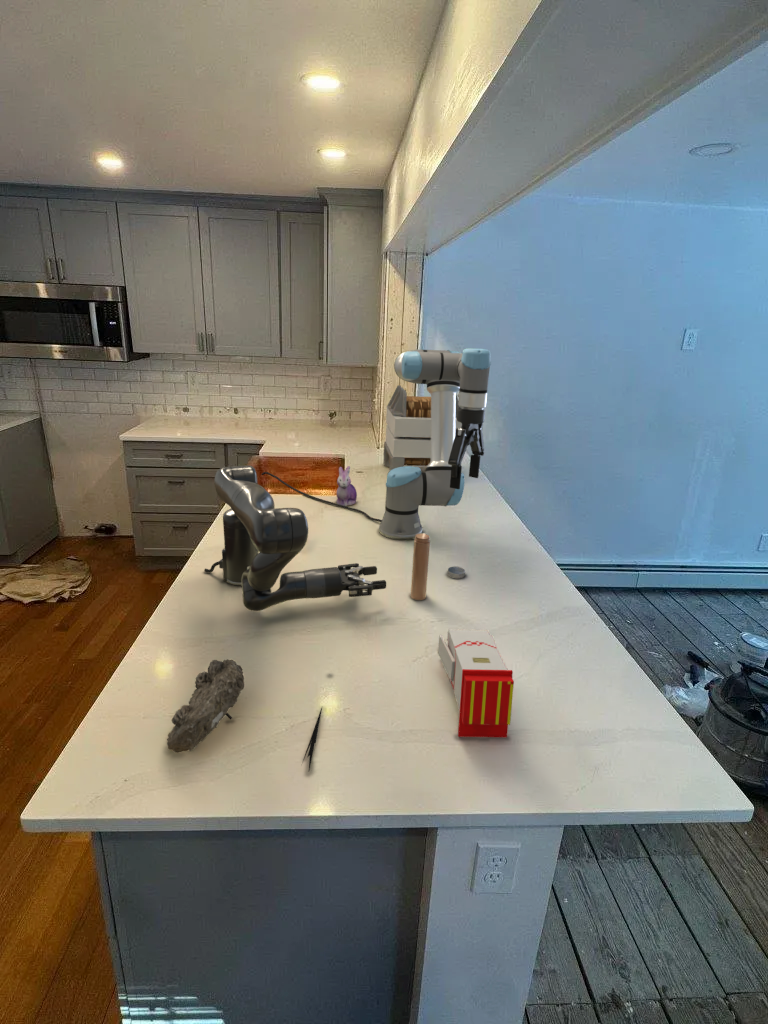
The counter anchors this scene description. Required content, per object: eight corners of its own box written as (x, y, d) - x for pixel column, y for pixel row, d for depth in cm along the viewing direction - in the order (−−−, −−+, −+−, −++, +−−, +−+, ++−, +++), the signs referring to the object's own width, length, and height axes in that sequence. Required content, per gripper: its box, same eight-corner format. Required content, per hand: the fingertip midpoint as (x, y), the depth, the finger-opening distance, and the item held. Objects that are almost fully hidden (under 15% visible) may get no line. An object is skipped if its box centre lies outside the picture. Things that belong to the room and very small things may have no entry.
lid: (460, 570, 174) (461, 565, 173) (467, 578, 169) (468, 573, 169) (444, 571, 172) (445, 567, 172) (451, 579, 168) (451, 574, 167)
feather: (331, 679, 122) (336, 673, 122) (307, 777, 96) (313, 769, 95) (324, 675, 122) (329, 669, 121) (298, 772, 95) (304, 764, 95)
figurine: (340, 508, 222) (341, 471, 217) (330, 500, 231) (330, 464, 226) (362, 505, 226) (363, 469, 221) (351, 497, 235) (352, 462, 230)
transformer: (382, 463, 289) (386, 382, 275) (445, 464, 293) (451, 384, 279) (390, 482, 257) (394, 392, 243) (460, 483, 261) (468, 394, 247)
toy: (488, 613, 130) (523, 677, 101) (484, 667, 133) (517, 744, 104) (435, 612, 130) (455, 676, 101) (432, 666, 133) (451, 743, 103)
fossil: (192, 660, 117) (244, 628, 112) (224, 691, 120) (276, 661, 115) (142, 746, 98) (202, 712, 93) (182, 779, 101) (242, 748, 96)
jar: (424, 592, 159) (429, 532, 153) (427, 600, 155) (431, 539, 149) (409, 592, 159) (413, 532, 153) (411, 600, 155) (415, 539, 149)
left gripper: (327, 582, 139) (390, 576, 144) (316, 558, 152) (374, 553, 157) (326, 609, 142) (388, 602, 146) (315, 583, 154) (373, 577, 159)
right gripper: (475, 401, 166) (469, 470, 173) (439, 411, 146) (433, 490, 153) (500, 404, 163) (492, 475, 170) (466, 415, 142) (459, 495, 149)
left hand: (381, 576), depth 151 cm, fingers open, 8 cm apart
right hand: (464, 482), depth 161 cm, fingers open, 13 cm apart
